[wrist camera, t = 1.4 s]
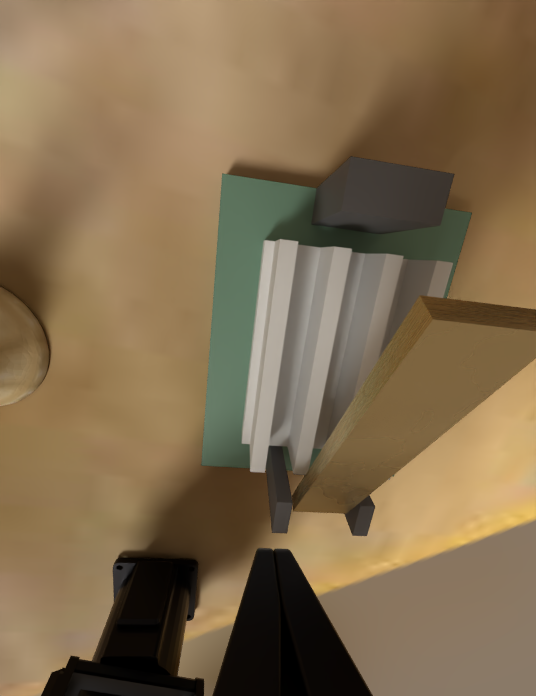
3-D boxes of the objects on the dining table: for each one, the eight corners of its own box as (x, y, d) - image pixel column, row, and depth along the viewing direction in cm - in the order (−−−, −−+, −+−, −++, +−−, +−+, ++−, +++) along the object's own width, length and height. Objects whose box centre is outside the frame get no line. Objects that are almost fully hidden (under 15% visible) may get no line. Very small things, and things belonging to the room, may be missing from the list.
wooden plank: (343, 498, 17) (346, 513, 17) (292, 495, 17) (292, 511, 16) (541, 310, 7) (564, 334, 6) (419, 295, 7) (433, 319, 6)
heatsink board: (387, 467, 23) (439, 545, 17) (203, 456, 22) (186, 537, 15) (460, 214, 18) (573, 194, 12) (223, 178, 16) (210, 132, 10)
